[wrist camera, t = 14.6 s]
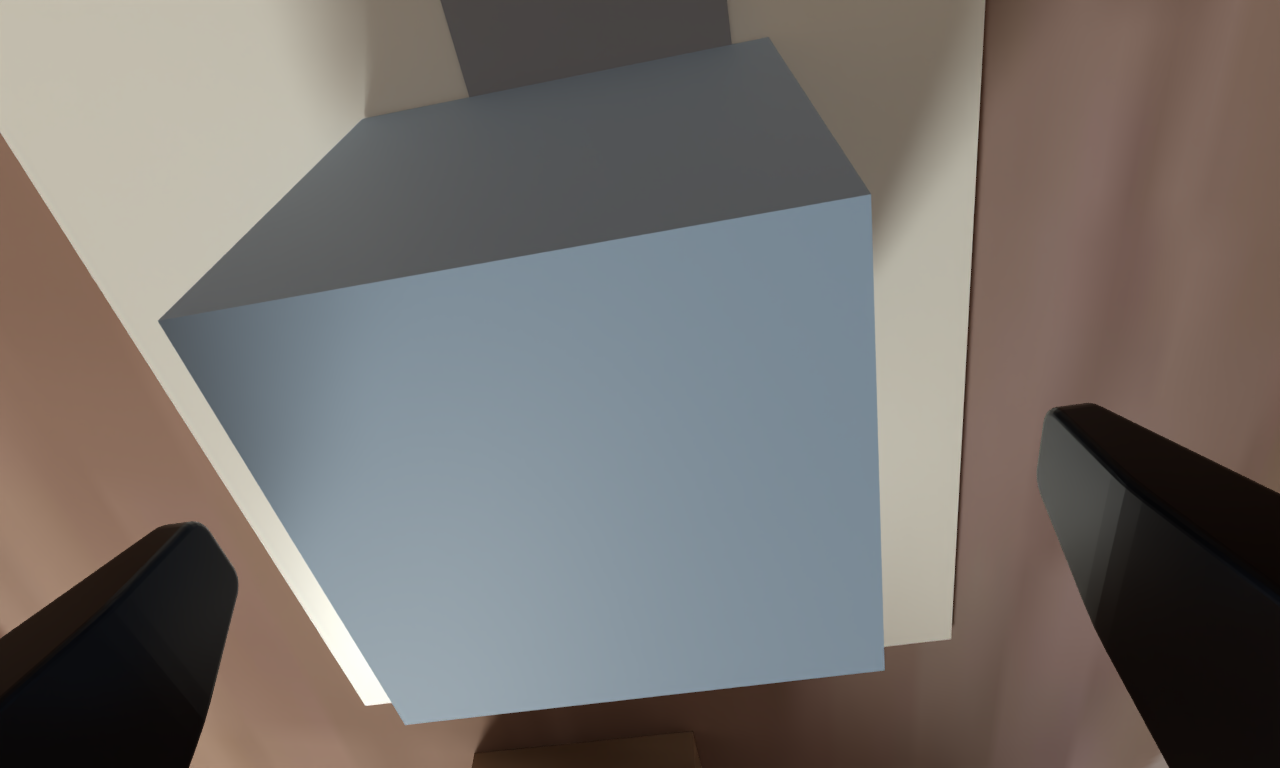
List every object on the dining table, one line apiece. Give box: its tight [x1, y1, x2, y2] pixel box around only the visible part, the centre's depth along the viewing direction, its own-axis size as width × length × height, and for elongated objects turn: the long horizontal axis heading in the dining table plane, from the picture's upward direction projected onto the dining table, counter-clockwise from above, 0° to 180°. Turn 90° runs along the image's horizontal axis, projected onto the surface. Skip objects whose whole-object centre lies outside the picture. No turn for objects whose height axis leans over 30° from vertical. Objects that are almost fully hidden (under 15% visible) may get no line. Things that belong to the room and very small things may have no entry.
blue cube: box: [158, 37, 885, 725], centre depth 9 cm, size 5×5×5 cm
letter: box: [0, 0, 985, 706], centre depth 12 cm, size 12×16×1 cm
